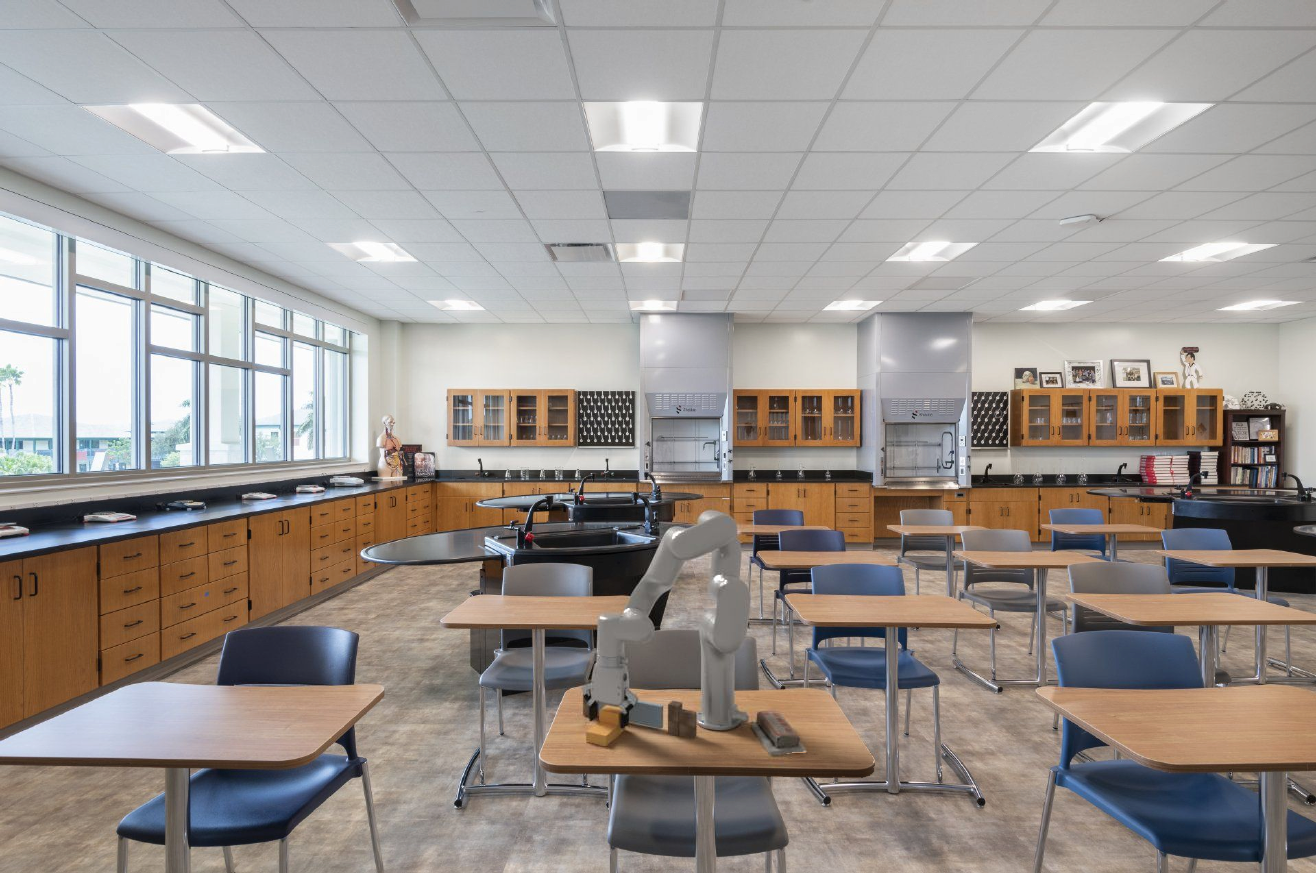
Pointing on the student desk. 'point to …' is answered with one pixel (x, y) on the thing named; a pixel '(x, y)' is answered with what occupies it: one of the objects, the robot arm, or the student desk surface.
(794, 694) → the student desk surface
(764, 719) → the packaged product
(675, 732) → the wooden posts
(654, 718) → the gate door
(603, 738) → the orange stepped block
